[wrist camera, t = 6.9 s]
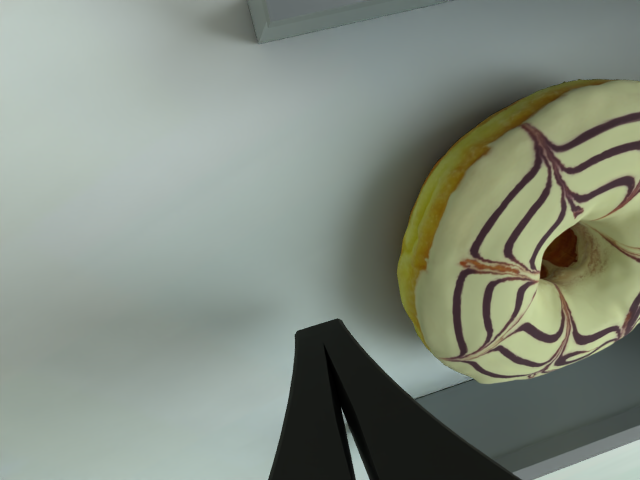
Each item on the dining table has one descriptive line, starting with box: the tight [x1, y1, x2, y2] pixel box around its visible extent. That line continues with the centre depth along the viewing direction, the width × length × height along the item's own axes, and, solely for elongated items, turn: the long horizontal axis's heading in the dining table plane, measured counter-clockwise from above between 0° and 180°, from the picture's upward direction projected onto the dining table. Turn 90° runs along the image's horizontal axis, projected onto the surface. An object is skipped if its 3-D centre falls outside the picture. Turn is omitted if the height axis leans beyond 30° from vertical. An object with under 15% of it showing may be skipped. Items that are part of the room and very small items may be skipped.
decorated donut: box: [397, 79, 640, 384], centre depth 11 cm, size 10×11×4 cm
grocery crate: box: [247, 0, 640, 480], centre depth 11 cm, size 18×17×4 cm
